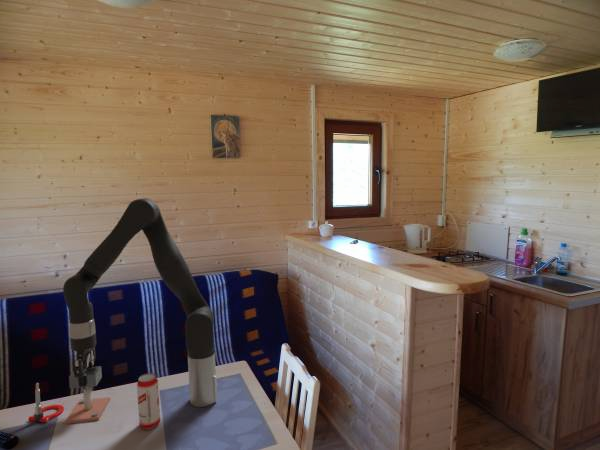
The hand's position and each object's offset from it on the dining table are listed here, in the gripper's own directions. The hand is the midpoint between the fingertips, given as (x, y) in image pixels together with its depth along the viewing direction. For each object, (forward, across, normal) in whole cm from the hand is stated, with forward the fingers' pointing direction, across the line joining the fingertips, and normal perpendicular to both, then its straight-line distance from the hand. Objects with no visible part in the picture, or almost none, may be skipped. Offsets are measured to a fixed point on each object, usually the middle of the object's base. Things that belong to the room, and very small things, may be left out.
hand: (86, 381), depth 130 cm
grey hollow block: (+1, 0, 0) cm, 1 cm away
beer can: (+11, -12, -22) cm, 27 cm away
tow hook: (+11, +1, +13) cm, 17 cm away
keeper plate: (+11, 0, 0) cm, 11 cm away
